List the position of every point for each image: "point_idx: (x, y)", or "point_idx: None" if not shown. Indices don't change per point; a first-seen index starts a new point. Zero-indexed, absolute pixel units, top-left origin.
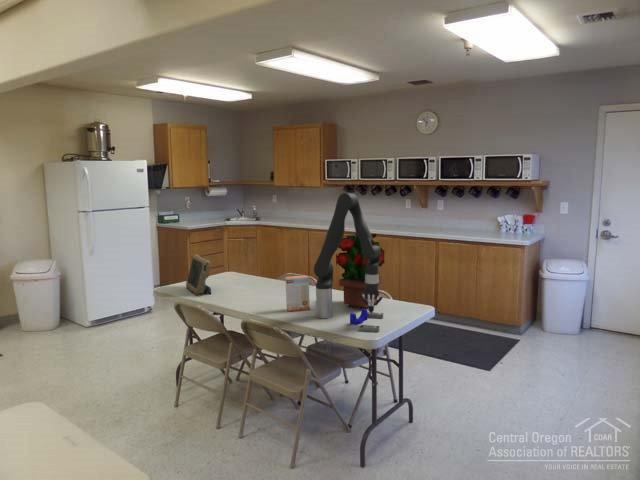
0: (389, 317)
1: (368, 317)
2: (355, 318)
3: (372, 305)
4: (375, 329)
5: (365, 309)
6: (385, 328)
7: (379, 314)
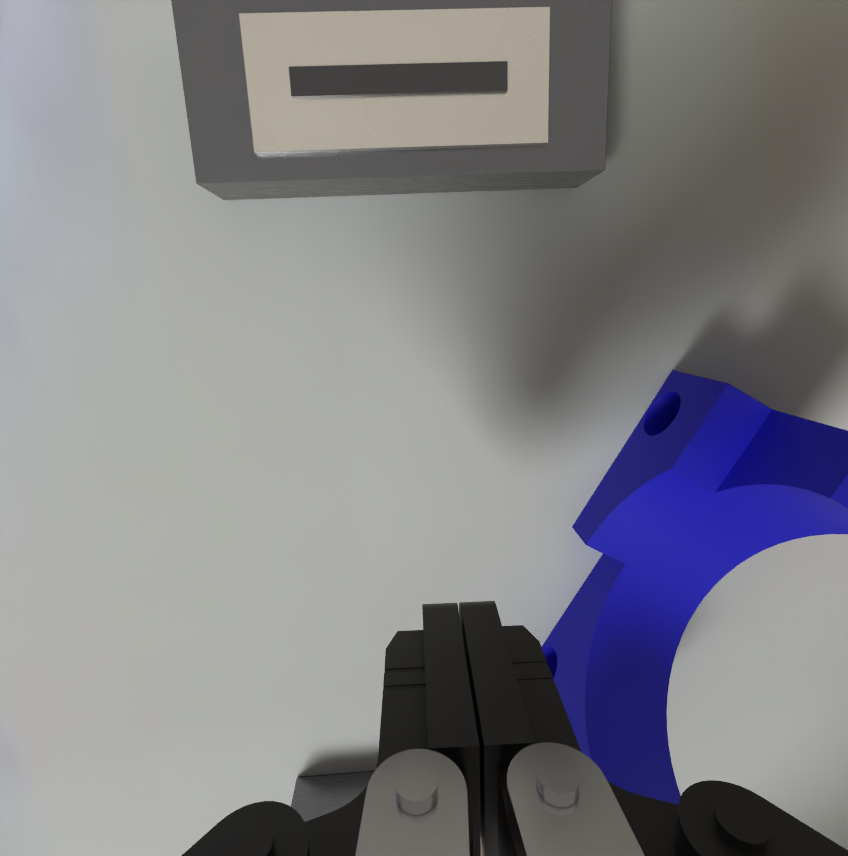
0: None
1: None
2: (759, 451)
3: (417, 773)
4: (256, 2)
5: None
6: (131, 294)
7: None
